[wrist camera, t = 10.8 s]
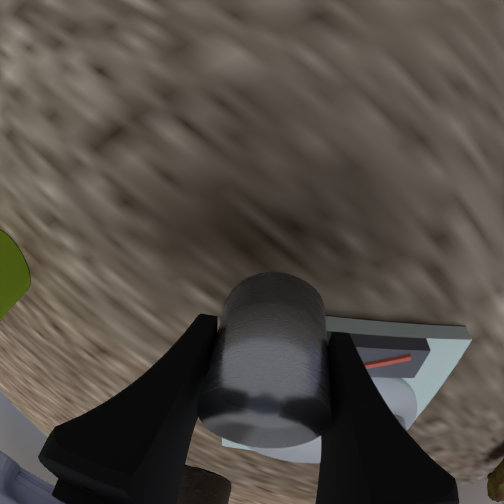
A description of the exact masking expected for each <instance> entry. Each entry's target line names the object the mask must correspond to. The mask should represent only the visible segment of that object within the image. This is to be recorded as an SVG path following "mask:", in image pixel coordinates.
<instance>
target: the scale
mask: <svg viewBox="0 0 504 504" xmlns="http://www.w3.org/2000/svg"><path fill="white" fill-rule="evenodd" d="M325 319H326V331H327V344H328V343H329V340H330V337H331V334H332V331H335V332H345V333H349V334H350V335H351V337H352V340H353V342H354V344H355V346H356V349H357V351H358V353H359V355H360V357H361V359H362V361H363V363H364V365H365V367H366V369H367V371H368V373H369V375H370V376H371V378H372V380H373V382H374V384H375V386H376V387H377V389H378V391H379V392H380V394H381V396H382V397H383V399H384V401H385V402H386V404H387V405H388V407H389V408H390V410H391V411H392V413H393V414H394V415H399V416H401V417H403V418H404V420H405V425H406V431H407V430H408V429H409V428H410V426H411V425H412V424H413V422H414V421H415V419H416V418H417V417H418V416H419V414H420V413H421V412H422V411H423V409H424V408H425V407H426V406H427V404H428V403H429V402H430V400H431V399H432V398H433V397H434V395H435V394H436V393H437V391H438V390H439V388H440V387H441V386H442V384H443V383H444V382H445V380H446V379H447V377H448V376H449V374H450V373H451V372H452V370H453V369H454V367H455V366H456V364H457V363H458V361H459V360H460V358H461V357H462V355H463V353H464V352H465V350H466V349H467V347H468V345H469V344H470V342H471V341H472V339H471V336H470V334H469V332H468V330H467V328H466V327H462V326H442V325H425V324H410V323H396V322H384V321H372V320H360V319H350V318H340V317H330V316H325ZM222 446H227V447H233V448H240V449H247V450H254V451H256V452H258V453H260V454H263V455H266V456H269V457H272V458H276V459H280V460H285V461H291V462H300V463H320V461H321V436H320V437H318V438H316V439H315V440H313V441H310V442H308V443H305V444H302V445H298V446H293V447H287V448H258V447H251V446H246V445H241V444H238V443H235V442H232V441H229V440H226V439H224V438H222Z"/></svg>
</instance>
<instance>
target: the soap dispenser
mask: <svg viewBox="0 0 504 504" xmlns="http://www.w3.org/2000/svg"><path fill="white" fill-rule="evenodd" d="M29 286H30V274H29V270H28V266H27V263H26V261H25V259H24V257H23V255H22V253H21V251H20V250H19V248H18V247H17V245H16V244H15V243H14V241H13V240H12V239H11V238H10V237H9V236H8V235H7V234H6V233H4V232H3V231H1V230H0V320H1V319H2V318H3V317H4V316H5V314H6V313H7V312H8V311H9V310H10V309H11V308H12V307H13V305H14V304H15V303H16V302H17V301H18V300H19V299H20V298H21V297H22V296H23V295H24V293H25V292H26V291H27V290H28V288H29Z"/></svg>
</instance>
